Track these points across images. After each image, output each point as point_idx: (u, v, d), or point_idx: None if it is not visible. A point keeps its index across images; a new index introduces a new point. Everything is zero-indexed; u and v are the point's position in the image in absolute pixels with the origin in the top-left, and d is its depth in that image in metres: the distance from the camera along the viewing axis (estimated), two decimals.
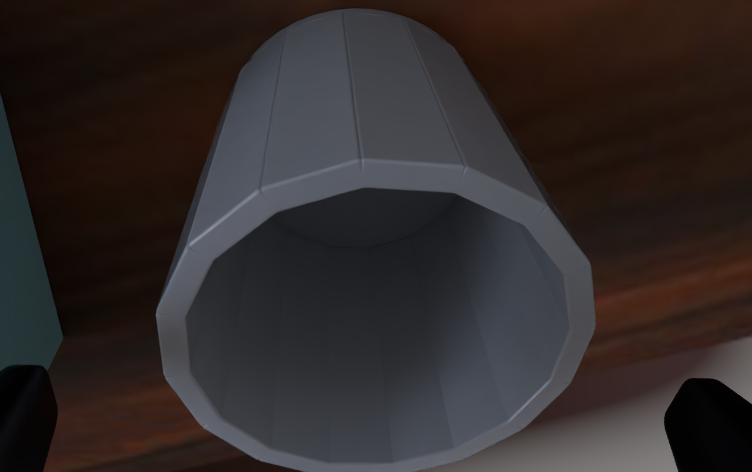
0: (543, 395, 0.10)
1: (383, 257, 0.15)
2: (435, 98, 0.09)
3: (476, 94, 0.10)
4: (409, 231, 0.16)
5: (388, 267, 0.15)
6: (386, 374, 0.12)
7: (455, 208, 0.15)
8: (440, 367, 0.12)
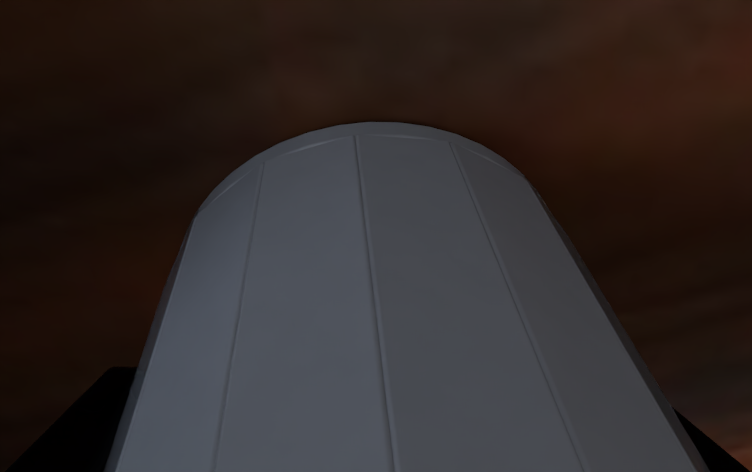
0: None
1: None
2: (555, 404, 0.04)
3: (597, 319, 0.06)
4: None
5: None
6: None
7: None
8: None
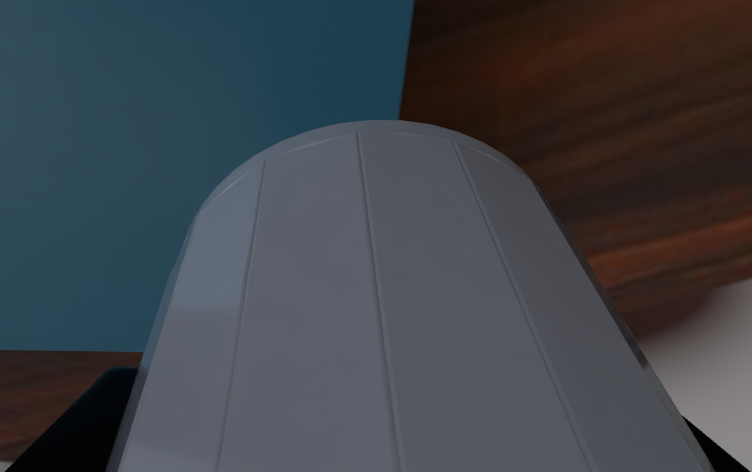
0: None
1: None
2: (560, 401, 0.04)
3: (601, 316, 0.06)
4: None
5: None
6: None
7: None
8: None
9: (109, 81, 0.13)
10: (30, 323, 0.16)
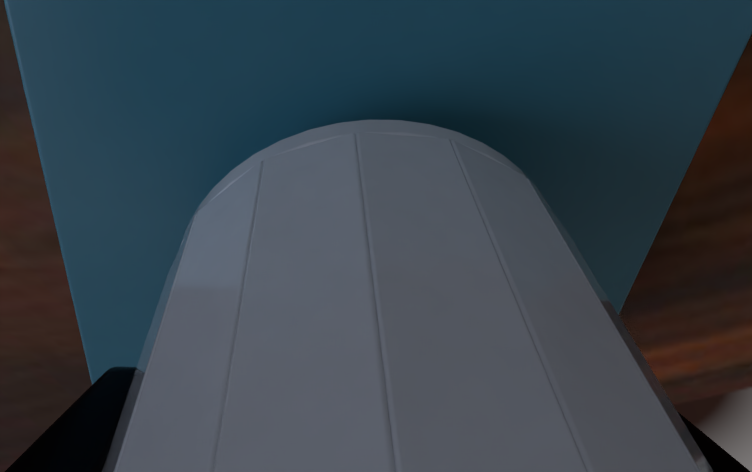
0: None
1: None
2: (557, 401, 0.04)
3: (598, 316, 0.06)
4: None
5: None
6: None
7: None
8: None
9: None
10: None
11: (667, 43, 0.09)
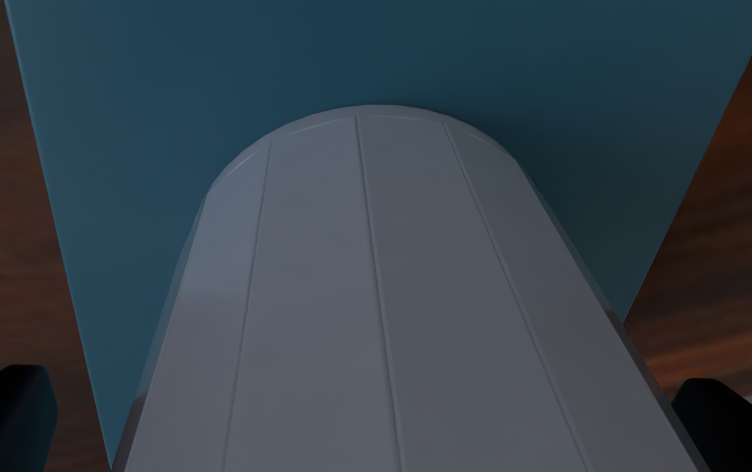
0: None
1: None
2: (529, 334, 0.05)
3: (573, 274, 0.06)
4: None
5: None
6: None
7: None
8: None
9: None
10: None
11: (673, 53, 0.09)
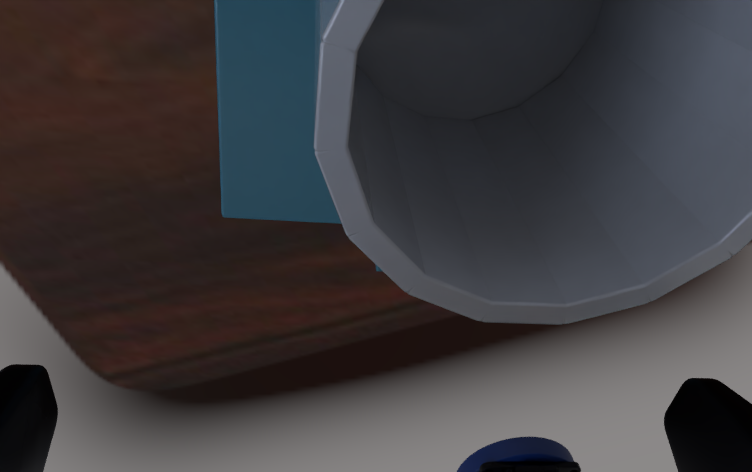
0: None
1: (492, 125, 0.13)
2: None
3: None
4: (520, 98, 0.14)
5: (501, 133, 0.13)
6: (530, 223, 0.10)
7: (579, 63, 0.13)
8: (598, 211, 0.10)
9: None
10: (264, 184, 0.15)
11: None
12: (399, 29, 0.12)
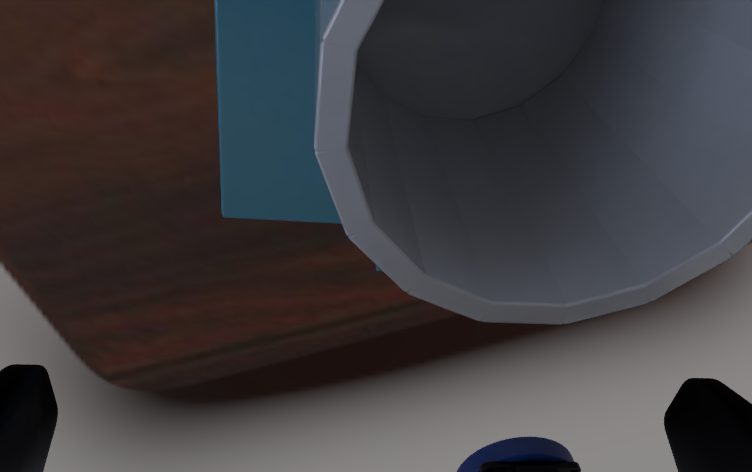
0: None
1: (492, 125, 0.13)
2: None
3: None
4: (520, 98, 0.14)
5: (501, 133, 0.13)
6: (530, 223, 0.10)
7: (579, 63, 0.13)
8: (598, 211, 0.10)
9: None
10: (264, 184, 0.15)
11: None
12: (399, 28, 0.12)
